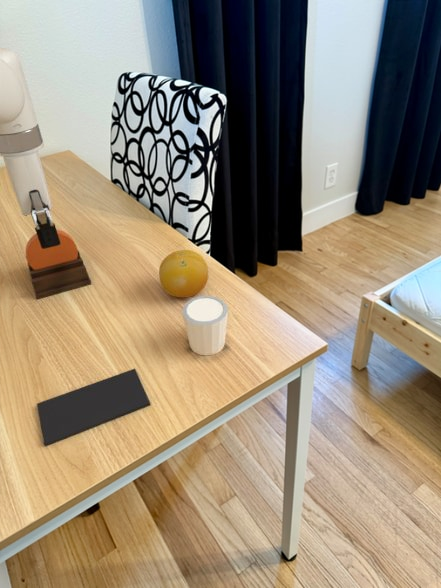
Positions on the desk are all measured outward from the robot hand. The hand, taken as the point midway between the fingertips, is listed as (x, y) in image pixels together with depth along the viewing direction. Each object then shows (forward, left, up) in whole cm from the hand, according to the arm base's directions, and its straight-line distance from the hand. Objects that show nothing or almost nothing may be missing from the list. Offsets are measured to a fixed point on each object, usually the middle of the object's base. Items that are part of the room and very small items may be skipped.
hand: (47, 233), depth 78 cm
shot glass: (+18, -30, -10) cm, 36 cm away
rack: (0, 0, -10) cm, 10 cm away
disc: (0, 0, -9) cm, 9 cm away
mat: (-1, -34, -10) cm, 36 cm away
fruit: (+20, -16, -10) cm, 27 cm away
